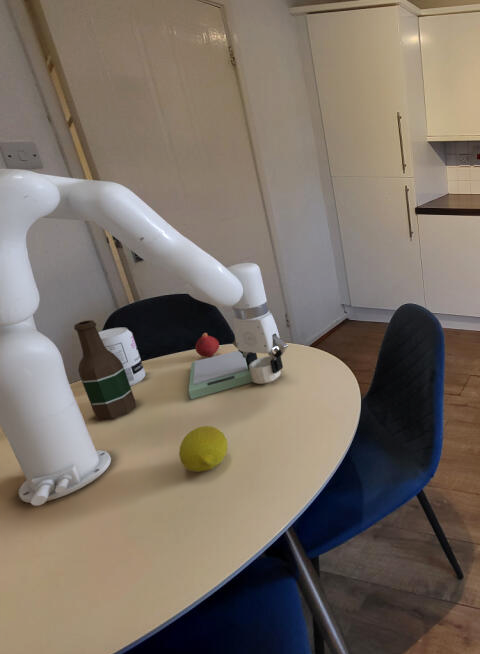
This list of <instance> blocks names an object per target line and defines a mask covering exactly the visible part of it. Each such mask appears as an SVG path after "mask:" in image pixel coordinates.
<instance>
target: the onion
mask: <svg viewBox="0 0 480 654" xmlns="http://www.w3.org/2000/svg"><path fill="white" fill-rule="evenodd" d="M194 349H195V352H196V353H197V354H198V355H199V356H201V357H205V358H210V357H214V355H216V353H217V352H218V351H219V349H220V343H219V341H218V339H217V338H215V337H214V336H211V335H208V333H207V332H204V333H203V334H202V335H201V337H200V338H198V340H196V343H195V347H194Z"/></svg>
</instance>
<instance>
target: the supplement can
mask: <svg viewBox="0 0 480 654" xmlns="http://www.w3.org/2000/svg"><path fill="white" fill-rule="evenodd" d="M98 333H99V335H100V338H101V340H102V342H103V344H104V346H105V348H106V349H107V350H108V351H110V352H112V353H113V354H114V355H115V356H116V357H117V358H118V359H119V360H120V361H121V363H122V365H123V367H124V370H125V373H126V376H127V378H128V381H129V384H130V387H132V386H134V385H136V384H138V383H140V382H141V381H143V380H144V378H145V376H146V371H145V367H144V364H143V362H142V359H141V356H140V352H139V350H138V346H137V344H136V341H135V338H134V334H133V332H132V331H131V330H129V329H128V327H120V326H119V327H114V328H108V329H105V330H102V331H98Z"/></svg>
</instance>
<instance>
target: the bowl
mask: <svg viewBox="0 0 480 654" xmlns="http://www.w3.org/2000/svg"><path fill="white" fill-rule="evenodd" d="M271 360H272V359H271V357H270V356H269V355H267V356H263V357H262V356H261V357H259V358H257V359H256V360H254V361H253V362H251V363H250V364H249V369H250V373H251V377H252V380H253V382H252V383H254V384H259V385H263V384H268V383H272V382H274V381H275V380H277V379H278V378H279V377H280V376H281V374H282V372H281V370H280V371H278V372H277V373H273V372H272V367H271V363H270V361H271Z"/></svg>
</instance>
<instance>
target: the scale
mask: <svg viewBox="0 0 480 654" xmlns="http://www.w3.org/2000/svg"><path fill="white" fill-rule="evenodd" d="M242 355H243V354H242V353H241V352H239V351H238V350H234V351H231V352H227V353H223V354H219V355H215V356H214V355H213V356H212V357H205V358H202V359H197V360H195V361H192V362H191V364H190V373H189V384H188V395H189V398H190V400H193V399H197V398H198V399H199V398H201V397H205V396H209V395H211V394H215V393H219V392H222V391H226V390H229V389H233V388H237V387H239V386H243V385H246V384H250V383H254V382H253V380H252V377H251V373H250V371H248V367H247V363H246V358H244V357H243V356H242Z"/></svg>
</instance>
